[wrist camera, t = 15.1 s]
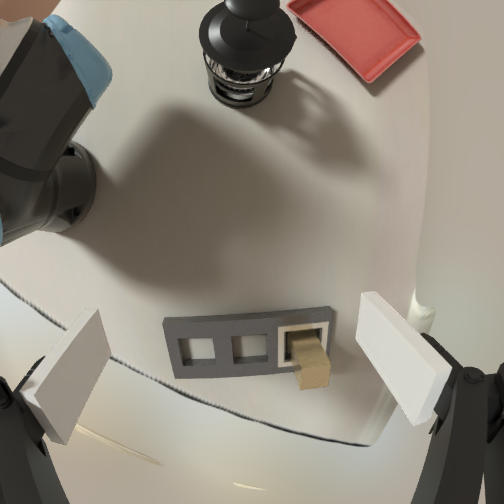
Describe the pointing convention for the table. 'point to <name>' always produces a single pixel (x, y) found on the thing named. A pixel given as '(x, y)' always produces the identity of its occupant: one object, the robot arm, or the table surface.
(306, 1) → the red serving tray
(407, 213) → the table surface
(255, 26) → the french press
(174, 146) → the table surface
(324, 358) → the peg
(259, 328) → the grey flat slotted block
